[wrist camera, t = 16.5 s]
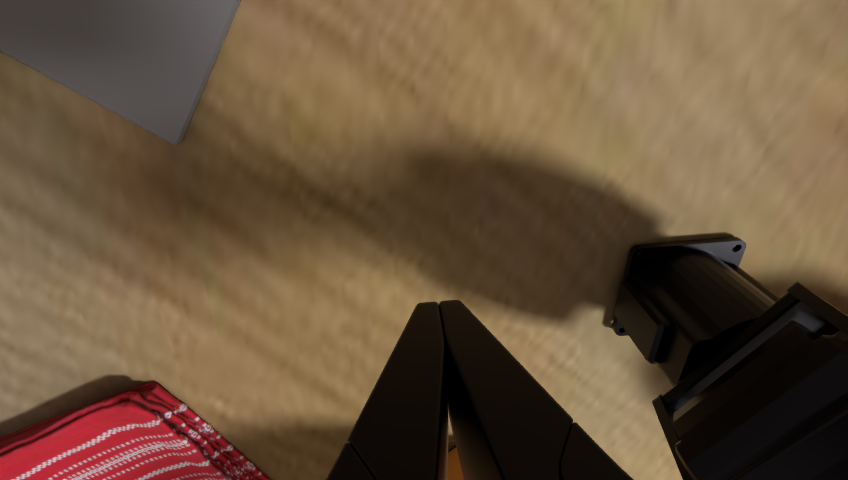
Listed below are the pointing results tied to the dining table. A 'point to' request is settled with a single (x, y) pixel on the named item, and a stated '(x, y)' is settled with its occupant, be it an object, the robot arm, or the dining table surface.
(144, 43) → the placemat
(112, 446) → the dish towel
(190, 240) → the dining table surface
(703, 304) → the robot arm
